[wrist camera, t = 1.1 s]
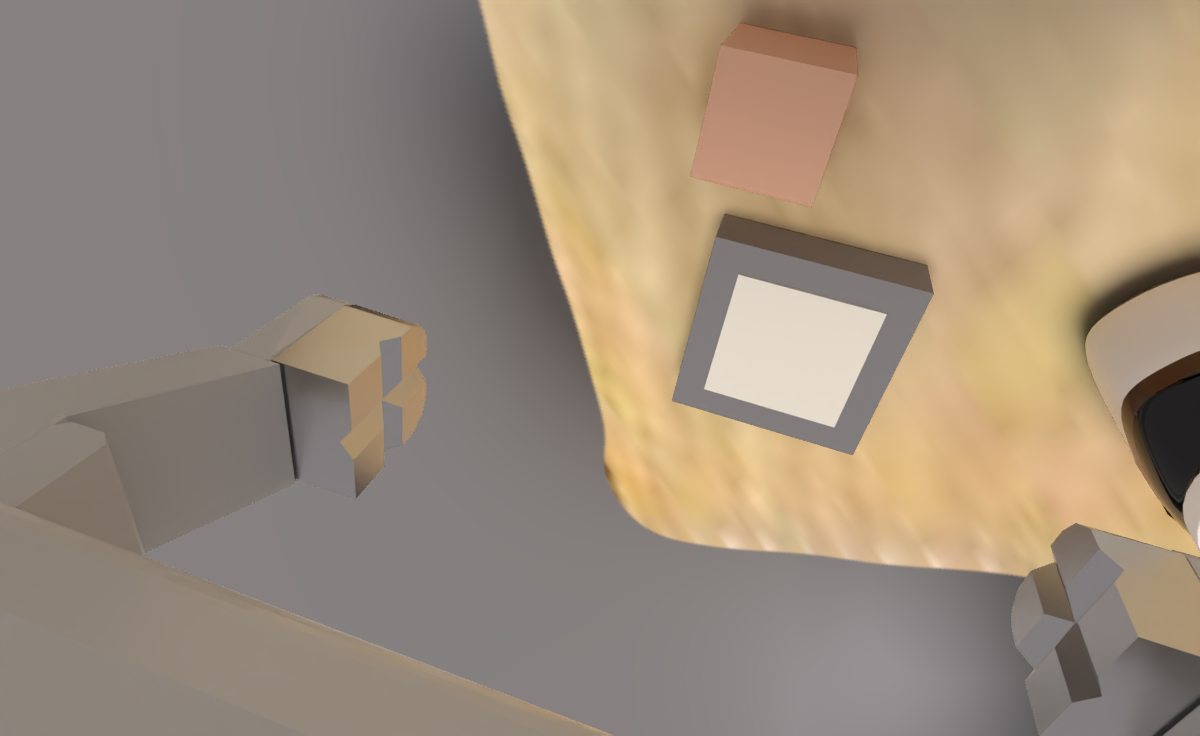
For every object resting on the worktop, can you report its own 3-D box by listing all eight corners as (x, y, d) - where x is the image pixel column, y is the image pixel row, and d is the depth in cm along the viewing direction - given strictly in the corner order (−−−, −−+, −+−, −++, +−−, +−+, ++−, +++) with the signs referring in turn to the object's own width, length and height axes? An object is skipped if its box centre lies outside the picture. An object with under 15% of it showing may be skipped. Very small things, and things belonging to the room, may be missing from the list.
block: (740, 23, 30) (720, 45, 25) (856, 47, 29) (858, 75, 24) (713, 137, 33) (690, 176, 28) (817, 162, 32) (812, 207, 27)
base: (724, 214, 34) (715, 237, 32) (927, 265, 33) (934, 295, 30) (682, 371, 40) (671, 402, 38) (852, 421, 39) (852, 456, 36)
